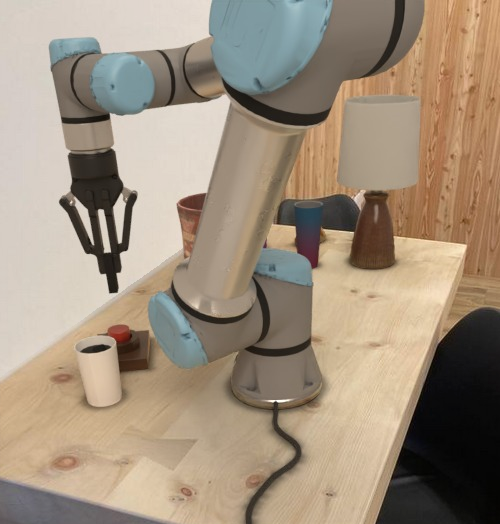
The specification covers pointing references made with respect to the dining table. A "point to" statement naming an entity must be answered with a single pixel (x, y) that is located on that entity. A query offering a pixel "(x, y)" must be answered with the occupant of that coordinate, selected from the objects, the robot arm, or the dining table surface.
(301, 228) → the cup
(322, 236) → the pastry
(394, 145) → the lamp
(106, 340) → the white coffee cup
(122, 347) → the switch box
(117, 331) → the lamp switch
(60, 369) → the dining table surface
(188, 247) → the pottery
